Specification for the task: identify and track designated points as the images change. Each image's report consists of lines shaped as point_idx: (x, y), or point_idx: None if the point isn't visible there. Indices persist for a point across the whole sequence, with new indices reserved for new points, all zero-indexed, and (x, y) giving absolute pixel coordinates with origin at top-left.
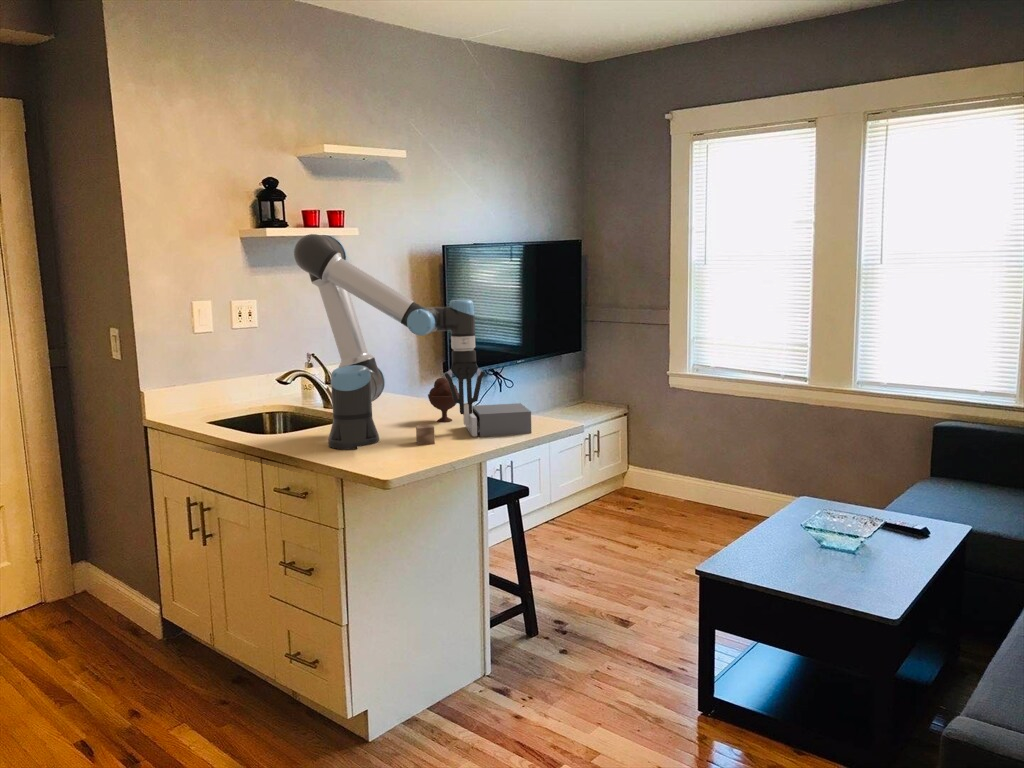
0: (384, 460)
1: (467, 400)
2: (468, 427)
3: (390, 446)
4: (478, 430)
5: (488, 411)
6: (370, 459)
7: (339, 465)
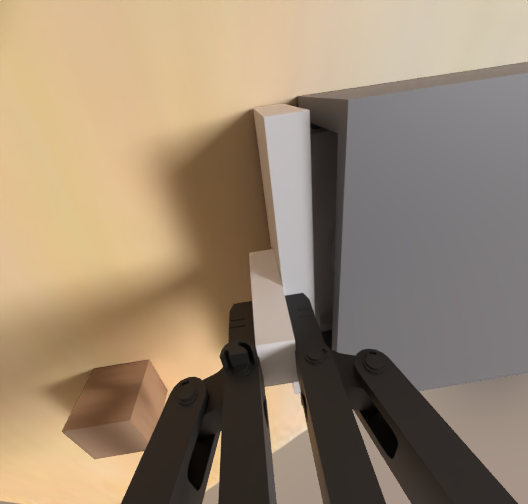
0: (99, 479)
1: (299, 371)
2: (271, 240)
3: (36, 409)
4: None
5: (396, 355)
6: (63, 477)
7: (24, 499)
